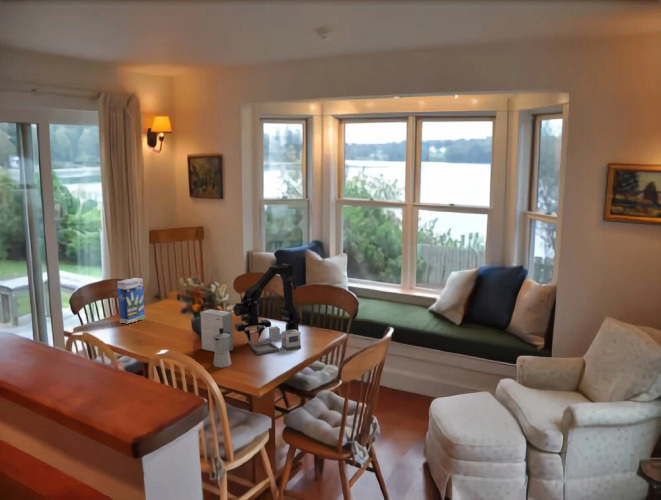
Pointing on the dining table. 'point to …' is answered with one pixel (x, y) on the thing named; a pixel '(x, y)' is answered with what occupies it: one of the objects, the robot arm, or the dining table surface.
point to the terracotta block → (254, 338)
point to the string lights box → (131, 300)
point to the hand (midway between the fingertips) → (253, 340)
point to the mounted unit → (291, 340)
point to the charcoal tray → (264, 348)
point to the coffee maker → (222, 349)
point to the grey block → (274, 333)
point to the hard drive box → (215, 327)
